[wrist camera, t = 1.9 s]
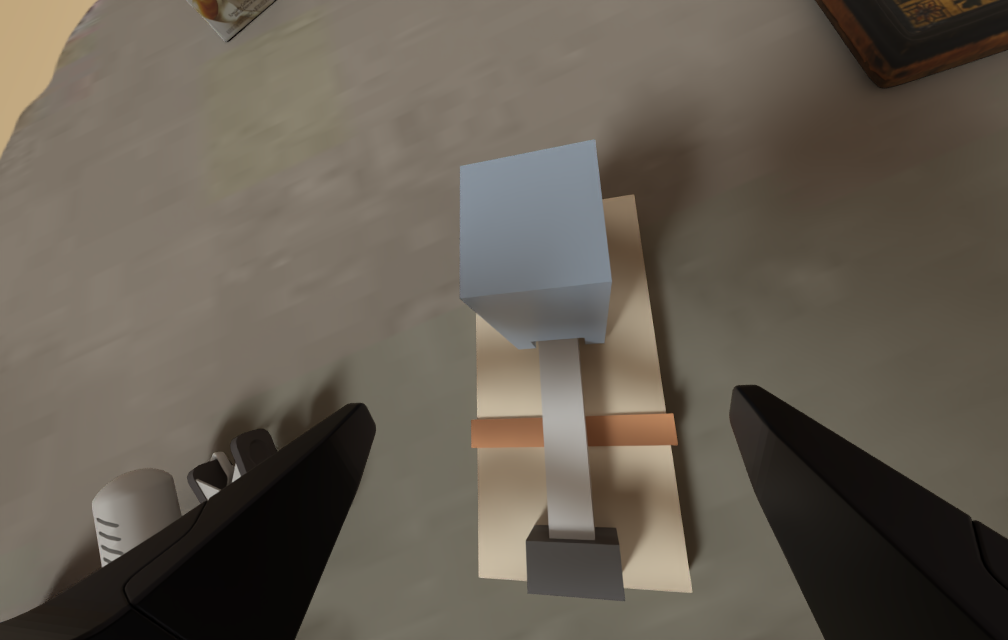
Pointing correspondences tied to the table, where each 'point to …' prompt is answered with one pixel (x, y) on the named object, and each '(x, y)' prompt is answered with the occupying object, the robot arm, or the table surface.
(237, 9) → the coffee box
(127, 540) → the clip-on lamp
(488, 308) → the pale blue rectangular block
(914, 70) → the framed painting
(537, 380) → the rail
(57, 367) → the table surface
